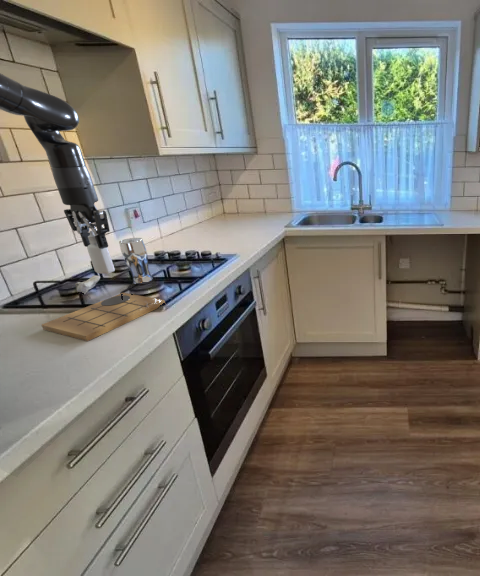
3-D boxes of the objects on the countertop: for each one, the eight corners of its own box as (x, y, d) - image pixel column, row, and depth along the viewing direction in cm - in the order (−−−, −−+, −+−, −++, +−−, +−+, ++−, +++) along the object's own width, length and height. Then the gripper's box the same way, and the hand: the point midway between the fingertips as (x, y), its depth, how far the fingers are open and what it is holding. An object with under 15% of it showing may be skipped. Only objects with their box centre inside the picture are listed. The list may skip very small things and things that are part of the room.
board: (87, 341, 89) (85, 335, 88) (43, 329, 95) (40, 324, 95) (165, 304, 108) (164, 299, 107) (124, 296, 114) (122, 292, 113)
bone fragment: (102, 282, 126) (99, 272, 125) (89, 294, 116) (85, 284, 115) (87, 284, 125) (83, 274, 124) (72, 296, 115) (68, 286, 114)
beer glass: (126, 284, 123) (112, 242, 118) (144, 277, 130) (132, 236, 124) (141, 286, 121) (128, 243, 116) (159, 279, 127) (147, 238, 122)
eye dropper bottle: (113, 267, 107) (99, 227, 103) (116, 272, 103) (102, 231, 99) (94, 271, 105) (80, 230, 100) (97, 276, 101) (82, 234, 96)
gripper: (41, 186, 94) (65, 248, 100) (77, 187, 89) (99, 253, 95) (73, 182, 100) (94, 241, 107) (108, 183, 95) (127, 245, 102)
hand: (96, 246), depth 101 cm, fingers closed on eye dropper bottle, 5 cm apart
